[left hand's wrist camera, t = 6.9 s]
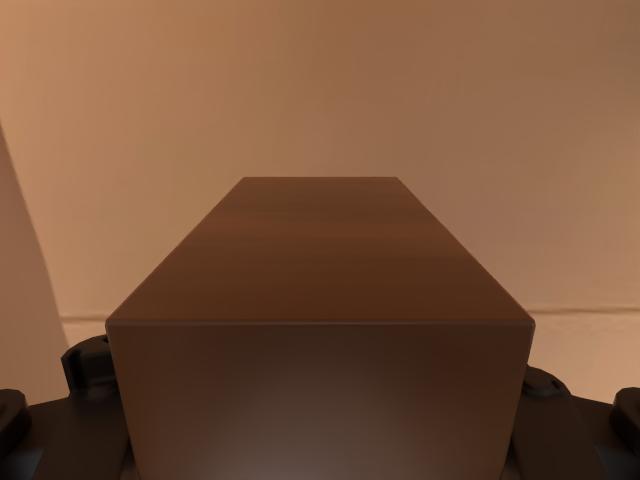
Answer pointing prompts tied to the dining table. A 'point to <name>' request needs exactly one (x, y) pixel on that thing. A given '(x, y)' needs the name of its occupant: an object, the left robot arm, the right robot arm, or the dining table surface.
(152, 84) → the dining table surface
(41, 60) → the dining table surface
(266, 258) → the bar
